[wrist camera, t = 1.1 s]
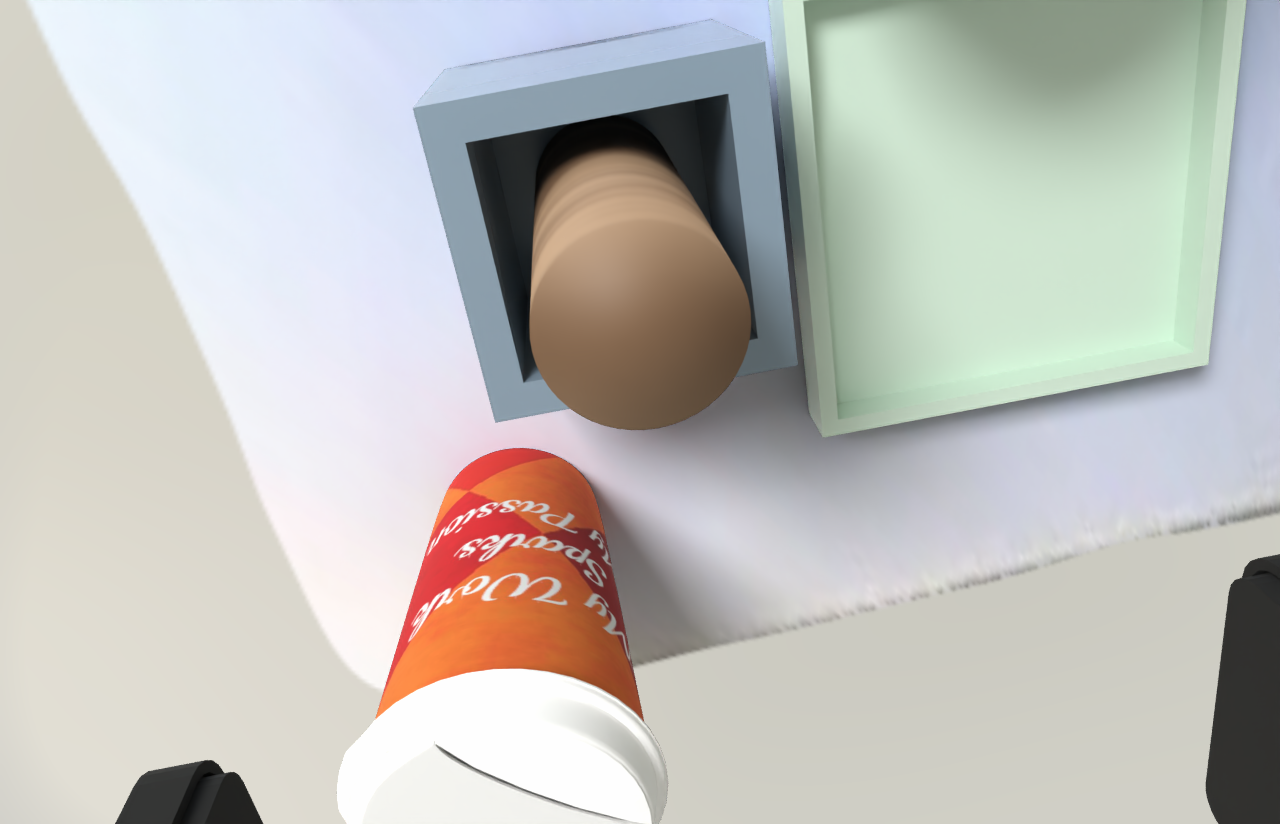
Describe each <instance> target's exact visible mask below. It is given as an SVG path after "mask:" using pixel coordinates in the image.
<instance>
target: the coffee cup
mask: <svg viewBox="0 0 1280 824" xmlns="http://www.w3.org/2000/svg"><path fill="white" fill-rule="evenodd" d="M667 791H668V778H667V769H666V762H665V759H664V757H663V754H662V751H661V748H660V745H659V743H658V742H657V740H656V738H655V737H654V735H653V734H652V732H651V730H650V728H649V727H648V726H647V725H646V724H645V723H644V719H643V714H642V709H641V705H640V700H639V695H638V690H637V685H636V680H635V676H634V670H633V666H632V661H631V656H630V651H629V646H628V641H627V636H626V631H625V627H624V622H623V617H622V612H621V607H620V602H619V598H618V593H617V588H616V583H615V579H614V574H613V569H612V564H611V560H610V555H609V551H608V546H607V542H606V537H605V532H604V528H603V524H602V520H601V516H600V512H599V508H598V505H597V502H596V499H595V496H594V493H593V491H592V489H591V487H590V485H589V484H588V482H587V481H586V479H585V478H584V476H583V475H582V474H581V473H580V472H579V471H578V470H577V469H576V468H575V467H573V466H572V465H571V464H570V463H568V462H567V461H565V460H563V459H562V458H560V457H558V456H556V455H553V454H551V453H548V452H545V451H541V450H536V449H529V448H512V449H504V450H499V451H495V452H492V453H489V454H487V455H484V456H482V457H480V458H478V459H477V460H475V461H473V462H472V463H470V464H469V465H468V466H466V467H465V468H464V469H463V470H462V471H461V472H460V473H459V474H458V475H457V476H456V478H455V479H454V480H453V482H452V484H451V485H450V487H449V488H448V490H447V492H446V495H445V497H444V500H443V502H442V505H441V507H440V510H439V513H438V516H437V519H436V522H435V525H434V528H433V531H432V534H431V537H430V541H429V544H428V547H427V550H426V553H425V556H424V560H423V563H422V566H421V569H420V573H419V576H418V579H417V583H416V586H415V589H414V592H413V596H412V599H411V602H410V605H409V609H408V612H407V615H406V619H405V622H404V625H403V629H402V632H401V635H400V639H399V642H398V645H397V649H396V652H395V655H394V659H393V662H392V665H391V669H390V672H389V675H388V679H387V682H386V685H385V689H384V692H383V695H382V699H381V702H380V705H379V709H378V712H377V715H376V719H375V721H374V722H373V723H372V724H371V726H370V727H369V728H368V729H367V730H366V731H365V733H364V734H363V735H362V736H361V737H360V738H359V739H358V740H357V741H356V742H355V743H354V744H353V745H352V746H351V747H350V748H349V749H348V750H347V751H346V753H345V756H344V759H343V762H342V765H341V768H340V771H339V777H338V786H337V798H338V806H339V812H340V813H341V815H342V816H343V818H344V819H345V821H346V823H347V824H659V822H660V820H661V818H662V815H663V811H664V808H665V804H666V801H667Z"/></svg>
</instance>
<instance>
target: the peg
mask: <svg viewBox="0 0 1280 824" xmlns="http://www.w3.org/2000/svg"><path fill="white" fill-rule="evenodd" d="M750 332H751V310H750V305H749V300H748V295H747V293H746V290H745V287H744V284H743V282H742V280H741V278H740V276H739V274H738V272H737V270H736V269H735V267H734V265H733V264H732V262H731V260H730V258H729V257H728V255H727V253H726V252H725V250H724V248H723V247H722V245H721V243H720V242H719V240H718V238H717V237H716V235H715V233H714V232H713V230H712V228H711V227H710V225H709V223H708V221H707V220H706V218H705V216H704V215H703V213H702V211H701V210H700V208H699V206H698V205H697V203H696V201H695V200H694V198H693V196H692V195H691V193H690V191H689V189H688V188H687V186H686V184H685V183H684V181H683V179H682V178H681V176H680V174H679V173H678V171H677V169H676V168H675V166H674V164H673V163H672V161H671V159H670V157H669V156H668V154H667V152H666V151H665V149H664V147H663V146H662V144H661V143H660V142H659V140H658V139H657V138H656V137H655V136H654V135H653V134H652V133H651V132H650V131H649V130H648V129H647V128H645V127H644V126H642V125H641V124H639V123H638V122H636V121H633V120H631V119H629V118H626V117H622V116H618V115H611V116H606V117H601V118H595V119H590V120H585V121H579V122H574V123H570V124H568V125H567V126H565V127H564V128H563V129H561V130H560V131H559V132H558V133H557V134H556V135H555V136H554V137H553V138H552V139H551V140H550V142H549V143H548V144H547V146H546V148H545V149H544V151H543V153H542V155H541V158H540V160H539V163H538V167H537V171H536V180H535V204H534V228H533V252H532V277H531V301H530V342H531V348H532V353H533V356H534V359H535V363H536V365H537V367H538V370H539V372H540V374H541V376H542V378H543V379H544V381H545V382H546V384H547V385H548V387H549V388H550V389H551V391H552V392H553V393H554V394H555V395H556V396H557V398H558V399H560V400H561V401H562V402H563V403H564V404H565V405H566V406H567V407H569V408H570V409H572V410H573V411H575V412H576V413H577V414H579V415H581V416H583V417H585V418H587V419H589V420H591V421H593V422H596V423H599V424H601V425H604V426H609V427H613V428H617V429H627V430H647V429H655V428H661V427H665V426H669V425H673V424H675V423H678V422H680V421H683V420H686V419H687V418H689V417H691V416H693V415H695V414H697V413H699V412H700V411H702V410H703V409H704V408H706V407H707V406H709V405H710V404H711V403H712V402H713V401H715V400H716V399H717V398H718V397H719V396H720V395H721V394H722V393H723V392H724V391H725V389H726V388H727V387H728V386H729V385H730V383H731V382H732V380H733V379H734V377H735V376H736V374H737V373H738V371H739V369H740V367H741V365H742V363H743V360H744V357H745V355H746V352H747V349H748V344H749V340H750Z"/></svg>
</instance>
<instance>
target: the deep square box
mask: <svg viewBox="0 0 1280 824" xmlns="http://www.w3.org/2000/svg"><path fill="white" fill-rule="evenodd" d="M413 110H414V114H415V118H416V122H417V126H418V129H419V133H420V137H421V141H422V145H423V149H424V152H425V156H426V160H427V164H428V168H429V171H430V175H431V179H432V183H433V187H434V190H435V194H436V198H437V202H438V206H439V209H440V213H441V217H442V221H443V225H444V229H445V232H446V236H447V240H448V244H449V248H450V251H451V255H452V259H453V263H454V267H455V270H456V274H457V278H458V282H459V286H460V290H461V293H462V297H463V301H464V305H465V309H466V312H467V316H468V320H469V324H470V328H471V331H472V335H473V339H474V343H475V347H476V351H477V354H478V358H479V362H480V366H481V370H482V373H483V377H484V381H485V385H486V389H487V392H488V396H489V400H490V404H491V408H492V411H493V415H494V419H495V423H496V422H502V421H507V420H512V419H518V418H523V417H528V416H533V415H539V414H544V413H549V412H554V411H560V410H565V409H570V408H569V407H567V406H566V405H565V404H564V403H563V402H562V401H561V400H560V399H558V398H557V396H556V395H555V394H554V393H553V392H552V391H551V389H550V388H549V387H548V385H547V384H546V382H545V381H544V379H543V378H542V376H541V374H540V372H539V370H538V367H537V365H536V363H535V359H534V356H533V353H532V348H531V342H530V301H531V277H532V252H533V228H534V204H535V180H536V171H537V167H538V163H539V160H540V158H541V155H542V153H543V151H544V149H545V148H546V146H547V144H548V143H549V142H550V140H551V139H552V138H553V137H554V136H555V135H556V134H557V133H558V132H559V131H560V130H561V129H563V128H564V127H565V126H567V125H568V124H570V123H574V122H579V121H585V120H590V119H595V118H601V117H606V116H611V115H618V116H622V117H626V118H629V119H631V120H633V121H636V122H638V123H639V124H641V125H642V126H644V127H645V128H647V129H648V130H649V131H650V132H651V133H652V134H653V135H654V136H655V137H656V138H657V139H658V140H659V142H660V143H661V144H662V146H663V147H664V149H665V151H666V152H667V154H668V156H669V157H670V159H671V161H672V163H673V164H674V166H675V168H676V169H677V171H678V173H679V174H680V176H681V178H682V179H683V181H684V183H685V184H686V186H687V188H688V189H689V191H690V193H691V195H692V196H693V198H694V200H695V201H696V203H697V205H698V206H699V208H700V210H701V211H702V213H703V215H704V216H705V218H706V220H707V221H708V223H709V225H710V227H711V228H712V230H713V232H714V233H715V235H716V237H717V238H718V240H719V242H720V243H721V245H722V247H723V248H724V250H725V252H726V253H727V255H728V257H729V258H730V260H731V262H732V264H733V265H734V267H735V269H736V270H737V272H738V274H739V276H740V278H741V280H742V282H743V284H744V287H745V290H746V293H747V295H748V300H749V305H750V310H751V332H750V340H749V344H748V349H747V352H746V355H745V357H744V360H743V363H742V365H741V367H740V369H739V371H738V373H737V374H736V376H735V377H739V376H744V375H750V374H755V373H760V372H765V371H771V370H776V369H781V368H786V367H792V366H797V365H798V361H797V351H796V341H795V332H794V322H793V312H792V302H791V292H790V283H789V273H788V263H787V253H786V243H785V233H784V224H783V214H782V204H781V194H780V184H779V175H778V165H777V155H776V145H775V135H774V126H773V116H772V106H771V96H770V86H769V77H768V67H767V57H766V47H765V42H764V41H762V40H759V39H757V38H755V37H752V36H750V35H748V34H745V33H743V32H741V31H738V30H736V29H734V28H731V27H729V26H727V25H724V24H722V23H720V22H717V21H715V20H713V19H711V20H705V21H700V22H695V23H689V24H684V25H679V26H673V27H668V28H663V29H657V30H652V31H647V32H641V33H636V34H631V35H625V36H620V37H614V38H609V39H604V40H598V41H593V42H588V43H582V44H577V45H572V46H566V47H561V48H556V49H550V50H545V51H540V52H534V53H529V54H524V55H518V56H513V57H507V58H502V59H497V60H491V61H486V62H481V63H475V64H470V65H465V66H459V67H454V68H449V69H444V71H443V72H442V73H441V74H440V76H439V77H438V78H437V79H436V80H435V82H434V83H433V84H432V85H431V86H430V88H429V89H428V90H427V91H426V92H425V94H424V95H423V96H422V97H421V99H420V100H419V101H418V102H417V103H416V105H415V106H414V107H413Z"/></svg>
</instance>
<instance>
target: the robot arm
mask: <svg viewBox="0 0 1280 824" xmlns="http://www.w3.org/2000/svg"><path fill="white" fill-rule="evenodd" d="M1206 794H1207V799H1208V802H1209V805H1210V808H1211V811H1212V813H1213V815H1214V817H1215V819H1216V821H1217V822H1218V824H1280V554H1279V555H1274V556H1268V557H1263V558H1258V559H1255V560H1252V561H1250V562H1249V563H1248V565H1247V566H1246V567H1245V569H1244V573H1243V576H1242V578H1240V579H1237V580H1235V581H1234V582H1233V583H1232V584H1231V587H1230V591H1229V596H1228V604H1227V612H1226V620H1225V628H1224V638H1223V645H1222V653H1221V662H1220V670H1219V678H1218V687H1217V694H1216V703H1215V711H1214V719H1213V727H1212V737H1211V744H1210V752H1209V760H1208V769H1207V777H1206ZM115 824H263V822H262V820H261V818H260V816H259V814H258V812H257V810H256V808H255V806H254V803H253V801H252V799H251V797H250V795H249V793H248V791H247V789H246V786H245V784H244V782H243V781H242V779H241V778H240V776H239V775H238V774H236V773H235V772H229V773H224V772H223V771H222V769H221V768H220V766H219V765H218V764H217V763H215V762H214V761H212V760H205V761H200V762H195V763H189V764H184V765H179V766H174V767H169V768H164V769H158V770H153V771H148V772H147V773H145V774H144V775H142V776H141V777H140V778H139V780H138V781H137V783H136V784H135V786H134V787H133V789H132V791H131V793H130V795H129V798H128V799H127V801H126V803H125V805H124V808H123V809H122V812H121V814H120V815H119V817H118V819H117V822H116V823H115Z"/></svg>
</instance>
